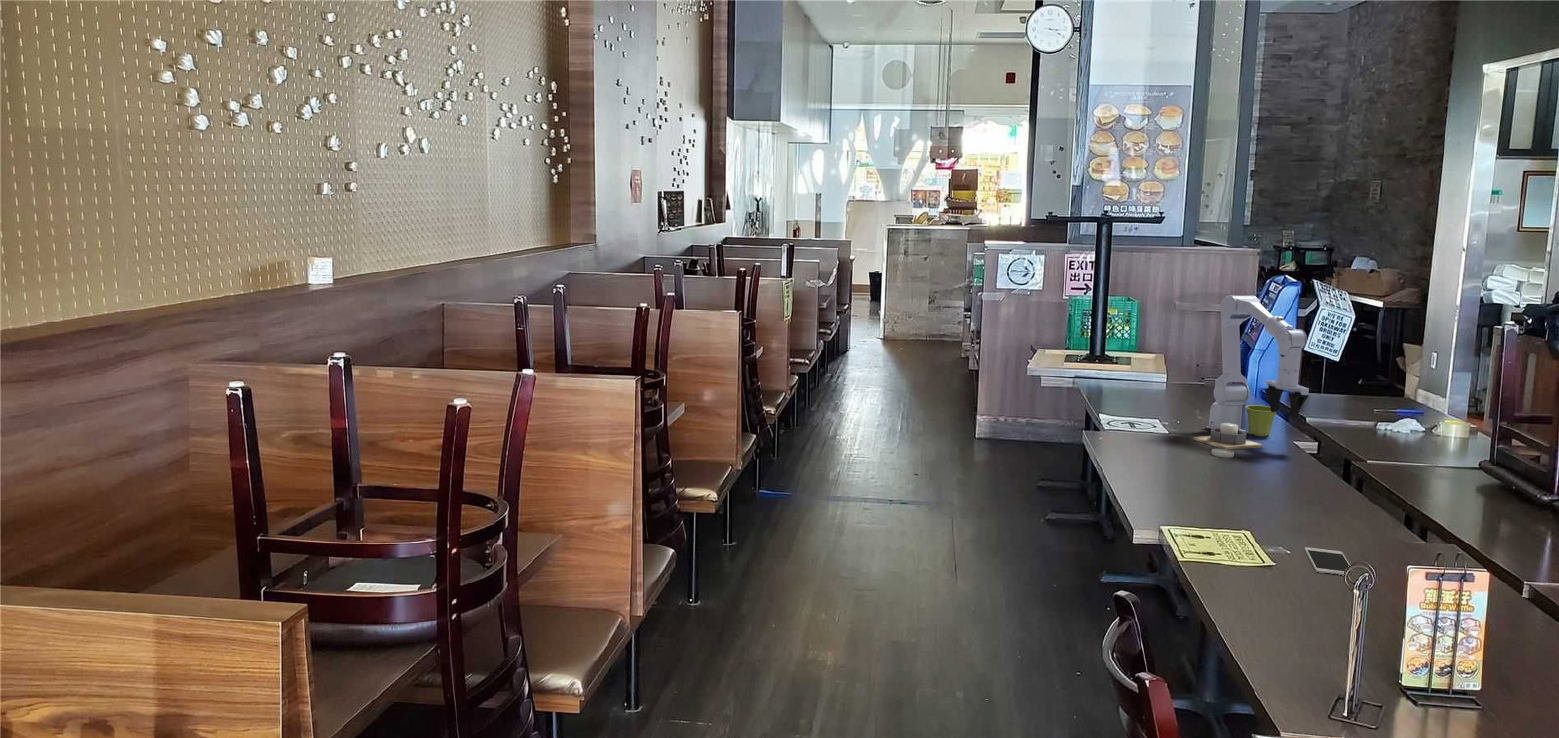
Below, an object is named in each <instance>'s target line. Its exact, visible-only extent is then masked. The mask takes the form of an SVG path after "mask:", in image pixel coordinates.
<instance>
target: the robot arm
mask: <svg viewBox="0 0 1559 738" xmlns="http://www.w3.org/2000/svg"><path fill="white" fill-rule="evenodd" d="M1251 317H1253V318H1254V319H1256V320H1257V321H1259V322H1260V323H1262V324H1263V327H1264V331H1265V332H1266V333H1268V334H1269V335H1270V336H1272V337H1273V338H1274V339H1275V340H1276V341H1275V342H1276V346H1277V347H1278V348H1277V349H1278V350H1277V352H1278V354H1279V359H1278V367H1277V377H1276V380H1272V379H1267V380H1266V381H1265V387H1267V388H1264V392H1265V394H1266V397H1267V399H1268V403H1269V407H1270V409H1271V412H1276V413H1278V412H1279V407H1280V400H1281V399H1282V398H1281V397H1282V394H1283V392H1284V391H1286V392H1291V393H1288V396H1289V397H1288V398H1289V402H1290V403H1289V404H1290V410H1289V413H1290V414H1289V415H1290V417H1291V418H1297V417H1298V416H1299V413H1300V411H1301V409H1302V407H1303V405H1304V403H1305V401H1307V400H1308V398H1309V390H1310V388H1309V387H1305V386H1303V385H1300V384H1299V376H1300V368H1301V367H1300V366H1301V357H1302V349H1304V348H1305V347H1306V345H1307V344H1308V335H1307V334H1306V332H1305V331H1304V330H1303V329H1297V328H1294V326H1293V325H1292V324H1290V323H1288V322H1287V321H1286V320H1284V319H1285V318H1284V316H1281V315H1279V316H1278V315H1272V313H1271V312H1269V311H1268V310H1267V309H1266V308H1265V307H1264V306H1263V305H1262V304H1261V300H1260V299H1259V298H1258V297H1256V295H1232V294H1229V295H1226V296H1225V297H1224V298H1223V299H1222V301H1221V302H1220V322H1221V324H1220V325H1221V354H1222V355H1221V356H1222V357H1221V358H1222V360H1221V361H1222V374H1221V375H1220V376H1219V377H1217V378H1216V379H1215V381H1214V382H1215V384H1214V387H1213V388H1214V389H1213V397H1214V399H1215V402H1213V403H1212V404H1211V406H1210V410H1209V419H1208V425H1207V426H1206V428H1207V429H1210V430H1211V429H1212V428H1220V426H1221V423H1231V424H1236V425H1238V430H1242V431H1245V432H1247V430H1246V429H1245V430H1244V429H1241V424H1242V415H1243V413H1242V412H1243V406H1244V405H1245V404H1246V403H1245V402H1247V401H1248V400H1249V398H1250V396H1251V395H1250V394H1251V393H1250V388H1249V384H1248V379H1247V378H1246V377H1245V376H1244V375H1243V374H1242V372H1241V371H1242V370H1241V369H1242V368H1241V365H1242V364H1241V338H1240V337H1241V336H1240V335H1241V334H1240V331H1241V330H1240V325H1241V324H1242V323H1244V322H1245V321H1246V320H1248V319H1250V318H1251Z"/></svg>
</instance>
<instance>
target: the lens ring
mask: <svg viewBox="0 0 1559 738" xmlns="http://www.w3.org/2000/svg"><path fill="white" fill-rule="evenodd" d="M1242 430H1243V429H1242ZM1242 430H1238V434H1226V433H1220V428H1212V429H1211V428H1210V435H1209V436H1210V440H1211V441H1214V442H1218V443H1222V444H1231V445H1240V444H1246V440H1247V434H1248V431H1246V430H1245V431H1246V432H1245V431H1242Z"/></svg>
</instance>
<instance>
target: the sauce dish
mask: <svg viewBox="0 0 1559 738" xmlns="http://www.w3.org/2000/svg"><path fill="white" fill-rule="evenodd" d="M1211 455H1212V456H1214V457H1218V458H1225V459H1226V458H1230V459H1231V458H1234V456H1235V451H1233V450H1227V449H1222V448H1212V449H1211Z"/></svg>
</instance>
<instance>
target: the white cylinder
mask: <svg viewBox="0 0 1559 738" xmlns="http://www.w3.org/2000/svg"><path fill="white" fill-rule="evenodd" d="M1220 433H1226V434H1238V425H1236V424H1231V423H1221V426H1220Z"/></svg>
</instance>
